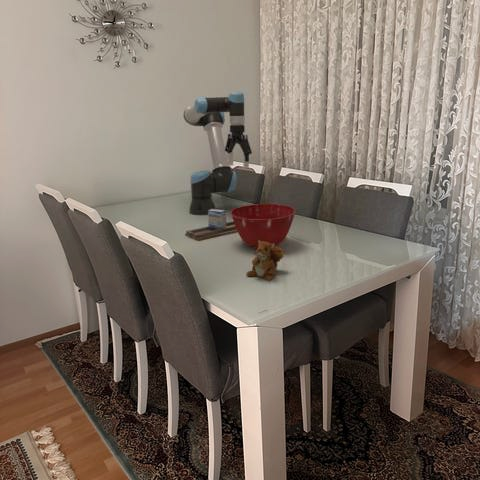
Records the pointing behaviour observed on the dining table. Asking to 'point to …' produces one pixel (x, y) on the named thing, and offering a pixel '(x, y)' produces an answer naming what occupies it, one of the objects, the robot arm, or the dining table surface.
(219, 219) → the medicine box
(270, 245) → the stuffed squirrel
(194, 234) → the tray
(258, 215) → the mixing bowl
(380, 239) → the dining table surface
